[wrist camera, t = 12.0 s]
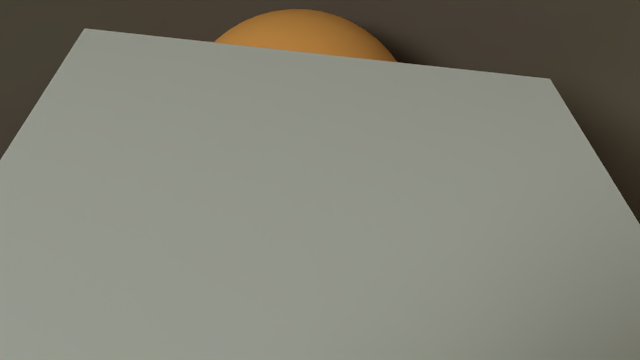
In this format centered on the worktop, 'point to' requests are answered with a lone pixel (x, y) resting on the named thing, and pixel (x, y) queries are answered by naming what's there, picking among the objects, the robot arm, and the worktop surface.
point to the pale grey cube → (306, 213)
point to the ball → (307, 35)
